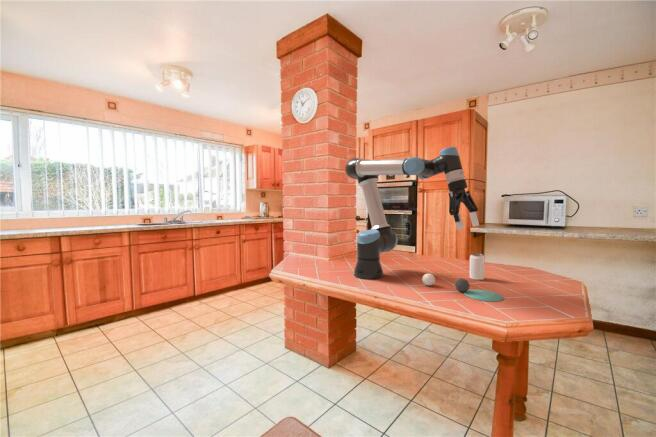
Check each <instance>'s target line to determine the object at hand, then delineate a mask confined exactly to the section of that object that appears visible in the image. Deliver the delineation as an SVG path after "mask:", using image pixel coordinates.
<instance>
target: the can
mask: <svg viewBox="0 0 656 437" xmlns="http://www.w3.org/2000/svg"><path fill="white" fill-rule="evenodd" d="M485 264H486V260H485V256H484V254H483V253H482V254H481V253H471V254H470V256H469V278H470V279H471V280H473V281H474V280H475V281H483V280H484V279H485V267H486V266H485Z"/></svg>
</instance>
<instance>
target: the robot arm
mask: <svg viewBox="0 0 656 437" xmlns="http://www.w3.org/2000/svg"><path fill="white" fill-rule="evenodd" d="M344 171H345V174H346V176H347V177H349V178H350V179H354V180H357V184H358V186H360V187H361V188H362V192H363V197H364V199H365V200H364V201H365V205H366V207H367V209H366V210H367V212H368V216H369V221H370V225H371V228H370V229H365V230H361V231H359V232H358V233H357V236H356V251H357V253H356V255H357V256H356V258H357V259H356V264H355V267H354V270H353V276H354V277H356V278H359V279H365V280H370V279H371V280H375V279H380V278H382V277H384V270H383V267H382V264H381V260H380V258H381V257H380V256H381V254H382V253H386V252H387V253H388V252H390V251H392V250H394V249H395V248H396V247H397V245H398V242H399V239H398V236H397V235H398V234H397V232H395V231H393V229H392V226H391V225H390V224H388V222H387V218H386V215H385V209H384V206H383V202H382V199H381V194H380V191H379V187H378V182H379V176H417V177H418V178H419V179H420V180H425V179H429V178H432V177H434V176H437V175H439V174H443V173H444V176H445V180H446V183H447V187H448V190H449V192H448V198H449V199H448V200H449V202H448V205H449V206H448V212H449V215H450V216H453V220H454V223H455V225H456V226H455V227H456V231H459V230H464V229H465V225H464V223H463V219H462V215H461V213H459V212H460V210H461V209H460V208H461V204H463V205H464V206H465V207H466V209H467V211H469V213H468V214H469V219H470V221H471V225H472V227H478V226H480V223H479V219H478V215H477V212H478V211H479V209H478V206H477V204H476V203H475V201H474V199H473V197H472V194H471V191H470V190H465V189H467V188H468V184H467V180H466V179H465V178H466V176H465V171H464V170H463V165H462V161H461V158H460V155H459V152H458V149H457V147H455V146H448V147H445V148H443V149H441V150H440V151H439V156H437V157H436V158H435V157H434V158H432V159H425V158H421V157H418V156H411V157H408V158H391V159H390V158H387V159H384V158H383V159H364V158H358V157H353V158H351V159H349V160H348V161H347V162H346V164H345V167H344Z"/></svg>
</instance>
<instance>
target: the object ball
mask: <svg viewBox="0 0 656 437" xmlns="http://www.w3.org/2000/svg"><path fill="white" fill-rule="evenodd" d="M454 286H455V289H456V290H457V291H458V292H461V293H464V292H465V291H467V290H470V289H469V288H470V283H469V281H468V280H467V279H465V278H458V279H456V281H455V282H454Z"/></svg>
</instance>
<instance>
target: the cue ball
mask: <svg viewBox="0 0 656 437" xmlns="http://www.w3.org/2000/svg"><path fill="white" fill-rule="evenodd" d="M421 278H422V282H423V284H424V285H426V286H433V285H434V284H435V283H436V277H435V276H434V275H433V274H432V273H425V274H424V275H423V276H422V277H421Z"/></svg>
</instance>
